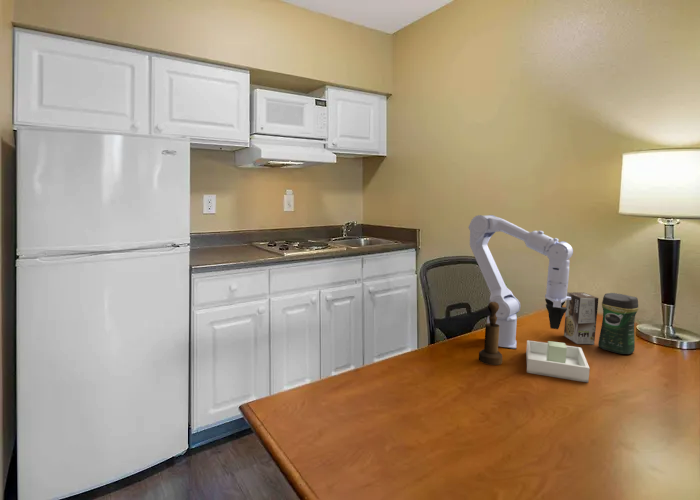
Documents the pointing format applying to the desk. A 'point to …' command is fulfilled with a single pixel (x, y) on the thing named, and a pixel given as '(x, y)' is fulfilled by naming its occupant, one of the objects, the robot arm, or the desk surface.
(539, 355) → the white bin
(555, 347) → the green block
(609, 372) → the desk surface
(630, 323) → the coffee jar
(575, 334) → the coffee box
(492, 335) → the wooden pepper mill
